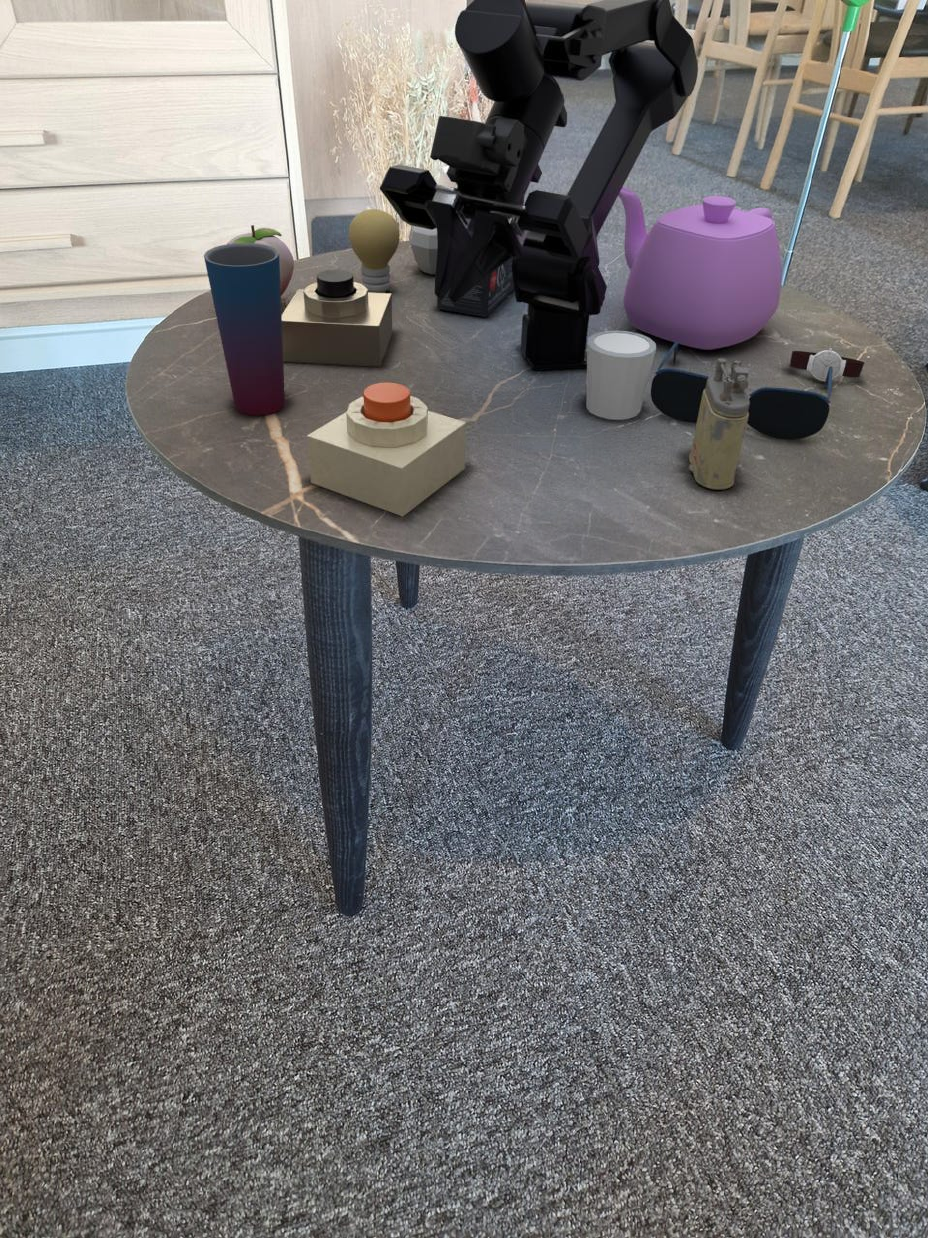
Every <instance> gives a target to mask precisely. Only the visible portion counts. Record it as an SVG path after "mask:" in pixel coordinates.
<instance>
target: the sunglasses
mask: <svg viewBox="0 0 928 1238" xmlns="http://www.w3.org/2000/svg"><path fill="white" fill-rule="evenodd" d="M678 349H679V344H678V342H673V344H672V346H671V347H670V349H669V350H668V352H667V354H666V355H665V357H664V358H663V359H662V361H661V363H660V364H659V366H658V368H657V371H655V372H654V374H655V375H654V376H653V378H652V381H651V386H650V400H651V402H652V404H653V405H654V406H655V408H656V409H657V410H659V412H661V413H662V414H663V415H665V416H667V417H669V418H671V419H673V420H678V421H681V422H686V423H692V424H693V423H694V424H695V423H696V424H697V419H698V414H699V409H700V404H701V399H702V394H703V390H704V389H705V388H706V384H707V380H708V378H709V377H710V376H708V375H705V374H701V373H697V372H693V371H687V370H682V369H676V368H669V367H667V368H666V367H665V368H663V366H664V365H665V364H666V362H667V361H668V359H669V358H670V357H671V355H672V353H673V359H672V364H675V363H676V360H677V354H678ZM832 374H833V367H832V366H830V367H829V370H828V373H827V377H826V381H824V385H823V388H824V389H826V388H827V396H826V395H824V394H821V393H819V392H816V391H815V392H814V391H810V390H803V389H795V388H794V389H793V388H786V387H773V386H764V387H759V388H757V389H755V390H754V391H752V392H751V393H750V394H749V397H748V399H749V401H750V404H749V409H748V413H749V417H748V421H747V425H748V426H749V427H750V428H752V430H755V431H757V432H758V433H760V434H762V435H764V436H767V437H770V438H775V439H778V440H779V439H780V440H803V439H806V438H809V437H811V436H814V435H815V434H818V433H819V432H820V431H822V429H823V427H824V426H825V424H826V423H827V420H828V418H829V414H830V403H831V401H830V398H831V394H832V388H833V387H832V386H833V379H832Z"/></svg>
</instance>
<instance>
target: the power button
mask: <svg viewBox="0 0 928 1238" xmlns="http://www.w3.org/2000/svg"><path fill="white" fill-rule="evenodd" d="M362 396H363V398H364V415H365V417H366V418H367V419H371V420H374V421H377V422H396V421H401V420H405V419H407V418H408V417H410V396H411V391H410V389H409V388H408V387H407V386H405V385H403V384H400V383H395V382H377V383H373V384H371V385H369V386H367V387H366V388H365V389H364V390H363V392H362Z"/></svg>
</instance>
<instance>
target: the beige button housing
mask: <svg viewBox="0 0 928 1238" xmlns="http://www.w3.org/2000/svg"><path fill="white" fill-rule="evenodd" d="M466 437H467V421H463V420H460V419H458V418H453V417H449V416H446V415H443V414H441V413H438V412H434V411H430V410H429V407H428V405H426V404H425V403H424V402H423V401H422V400H421V399H419V398H418V397H415V396H412V395H410V417H408V418H407V419H405V420H401V421H396V422H377V421H374V420H371V419H367V418H366V417H365V415H364V398H363V395H362V396H360V397H358V398H357V399H355V400H353V401H351V402H349V404H348V405H347V409H346V411H345V412H344V413H342V414H341V415H339V416H338V417H336V418H334V419H332V420H330V421H328V422H327V423H326V424H324V425H322V426H321V427H319V428H317V429H315V430H314V431H312V432H310V433H309V434H307V435H306V441H307V450H308V451H307V452H308V463H309V464H308V465H309V471H310V472H309V474H310V475H309V476H310V483H311V484H313V485H316V486H319V487H320V488H324V489H327V490H329V491H332V492H334V493H337V494H340V495H343V496H345V497H348V498H351V499H354V500H356V501H359V502H362V503H365V504H367V505H369V506H372V507H375V508H378V509H381V510H384V511H386V512H388V513H391V514H394V515H397V516H400V517H402V518H403V517H405V516H406V515H407V514H408V513H409V512H411V511H412V510H414V508H416V507H417V506H419V505H420V504H421V503H423V502H424V501H425V500H427V499H428V498H429V497H430V496H432V495H433V494H434V493H435V492H437V491H438V490H439V489H441V488H442V487H443V486H445V484H447V483H448V482H450V481H451V480H452V479H453V478H455V477H456V476H457V475H459V474H460V473H461V472H462V471H464V470H465V468H466V441H467V440H466Z"/></svg>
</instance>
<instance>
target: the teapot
mask: <svg viewBox="0 0 928 1238" xmlns="http://www.w3.org/2000/svg"><path fill="white" fill-rule="evenodd" d="M618 197H619V198H620V201H621V204H622V206H623V209H624V215H625V216H624V217H625V227H624V228H625V229H624V257H625V261H626V265H627V266H628V268H629V275H628V279H627V282H626V287H625V290H624V293H623V294H624V295H623V301H622V302H623V308H624V311H625V313H626V314H625V315H626V316H627V319H628V322H630V323H629V324H630V325H631V326H632V327H633V328H635V329H637V330H639V331H641V332H644V333H646V334H648V335H651V336H653V337H657V338H660V339H663V340H666V341H669V342H671V343H675V342H678V345H682V346H686V347H690V348H694V349H699V350H702V351H703V350H704V351H713V350H716V349H721V348H727V347H731V346H733V345H737V344H740V343H742V342H745V341H748V340H750V339H751V338H753V337H754V336H756V335H757V334H759V332H760V331H761V330H762V329H763V328H764V327H765V326H766V325H767V324H768V323H769V321H770V320H771V319H772V317H773V316H774V315H775V313H776V311H777V309H778V306H779V302H780V298H781V291H782V290H781V289H782V277H783V276H782V275H783V272H782V270H783V269H782V257H781V249H780V248H781V247H780V242H779V238H778V237H779V236H778V230H777V227H776V223H775V222H774V220H773V212H772V211H771V210H770V209H769V208H766V207H755V208H753V209H750V210H748V211H746V210H742V209H737V208H735V207H736V205H737V201H736V200H734V199H733V198H731V197H728V196H724V195H721V196H720V195H710V196H709V195H708V196H706V197H704V198H702V204H695V205H688V206H684V207H683V206H682V207H680V208H675V209H673V210H670V211H667V212H666V213H664V214H662V215H661V216H659V217H657V219H656V220H655V222H654V223H653V225H652V226H651V228H650V230H649V231H648V230H647V227H646V221H645V215H644V207H643V204H642V202H641V200H640V198H639V196H638V195H637V194H636V193H635V192H634V191H633V190H631V189H629V188H626V187H624V186H623V187H622V189H621V191H620V193H619V195H618ZM647 231H648V232H647Z"/></svg>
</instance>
